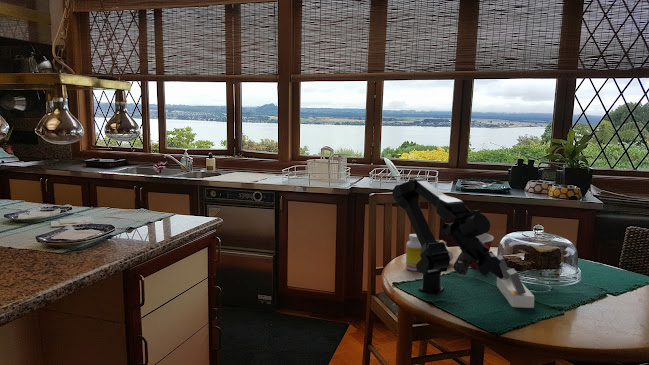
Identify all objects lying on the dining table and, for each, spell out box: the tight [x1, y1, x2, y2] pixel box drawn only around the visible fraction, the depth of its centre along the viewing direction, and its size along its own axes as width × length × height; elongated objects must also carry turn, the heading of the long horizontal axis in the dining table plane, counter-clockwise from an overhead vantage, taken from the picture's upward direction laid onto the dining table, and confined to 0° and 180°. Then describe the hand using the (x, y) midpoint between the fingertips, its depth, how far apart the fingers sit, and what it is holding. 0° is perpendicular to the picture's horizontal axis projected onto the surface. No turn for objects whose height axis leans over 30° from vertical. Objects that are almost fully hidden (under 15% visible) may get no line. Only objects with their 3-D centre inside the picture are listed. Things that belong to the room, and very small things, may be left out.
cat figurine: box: [435, 239, 454, 262], centre depth 175 cm, size 10×8×15 cm
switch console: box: [496, 276, 535, 309], centre depth 139 cm, size 6×18×4 cm, turn 173°
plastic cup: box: [469, 233, 495, 269], centre depth 168 cm, size 11×11×12 cm
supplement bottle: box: [405, 233, 421, 272], centre depth 166 cm, size 7×7×13 cm
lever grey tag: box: [496, 254, 510, 279], centre depth 145 cm, size 2×4×7 cm, turn 173°
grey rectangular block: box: [507, 267, 526, 295], centre depth 131 cm, size 2×4×7 cm, turn 173°
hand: (502, 277), depth 131 cm, fingers closed
